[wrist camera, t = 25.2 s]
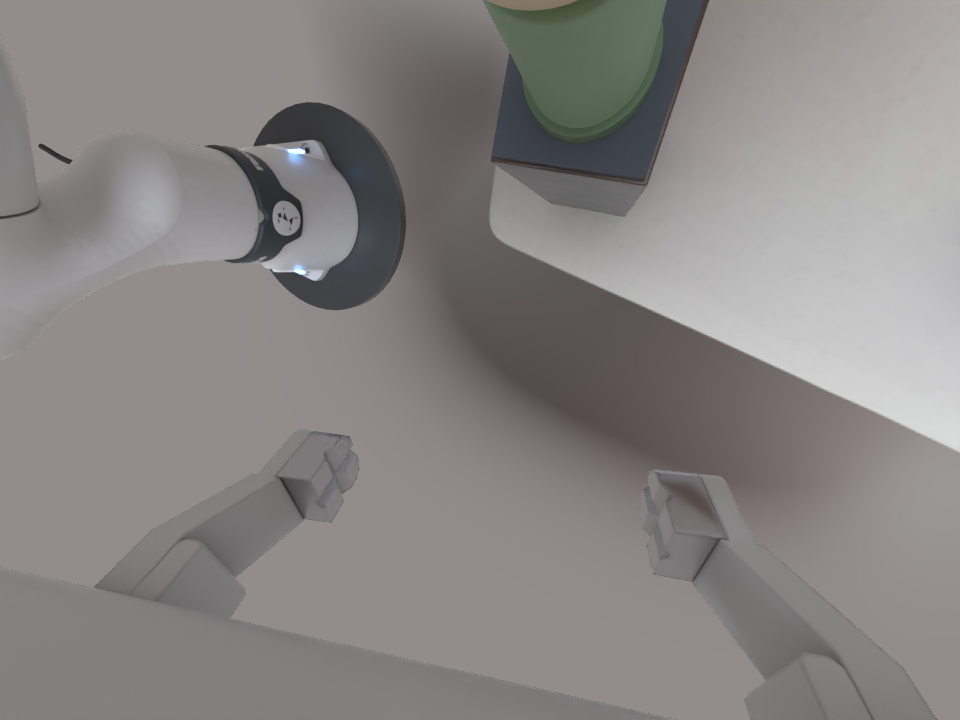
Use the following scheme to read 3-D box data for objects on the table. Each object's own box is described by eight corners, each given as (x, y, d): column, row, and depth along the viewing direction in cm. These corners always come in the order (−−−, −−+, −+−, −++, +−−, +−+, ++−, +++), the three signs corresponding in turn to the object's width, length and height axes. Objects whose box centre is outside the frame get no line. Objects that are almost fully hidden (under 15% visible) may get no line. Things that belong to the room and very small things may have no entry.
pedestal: (550, 203, 38) (490, 161, 18) (571, 118, 35) (525, -42, 15) (624, 216, 36) (646, 186, 16) (653, 128, 33) (722, -41, 13)
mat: (494, 157, 18) (491, 155, 18) (528, -36, 15) (526, -44, 15) (644, 181, 16) (645, 179, 16) (715, -34, 13) (718, -43, 13)
